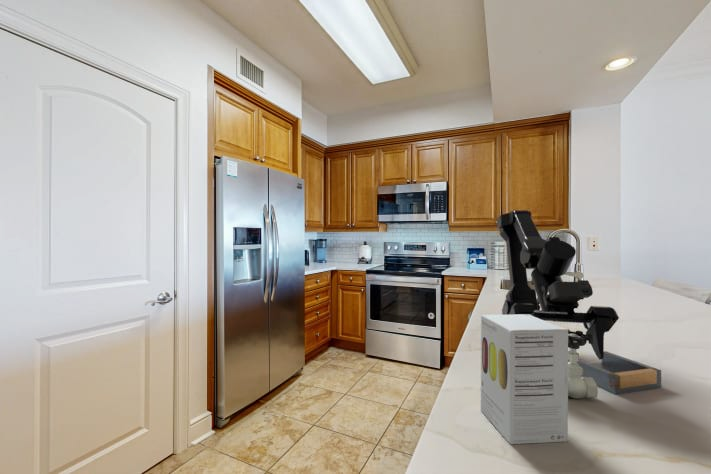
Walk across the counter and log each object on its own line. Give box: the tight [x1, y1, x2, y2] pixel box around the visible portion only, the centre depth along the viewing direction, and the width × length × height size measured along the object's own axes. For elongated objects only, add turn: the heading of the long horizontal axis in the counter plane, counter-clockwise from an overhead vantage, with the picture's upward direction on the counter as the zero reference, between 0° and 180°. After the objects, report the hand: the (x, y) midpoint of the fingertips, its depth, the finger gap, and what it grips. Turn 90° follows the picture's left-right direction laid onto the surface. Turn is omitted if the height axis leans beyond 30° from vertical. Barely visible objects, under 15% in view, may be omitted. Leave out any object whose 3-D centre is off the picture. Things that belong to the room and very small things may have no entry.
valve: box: [568, 329, 599, 399], centre depth 59 cm, size 7×7×12 cm
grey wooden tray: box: [568, 350, 662, 395], centre depth 67 cm, size 11×12×4 cm
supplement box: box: [480, 314, 569, 445], centre depth 50 cm, size 10×9×17 cm
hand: (573, 356), depth 59 cm, fingers open, 9 cm apart
